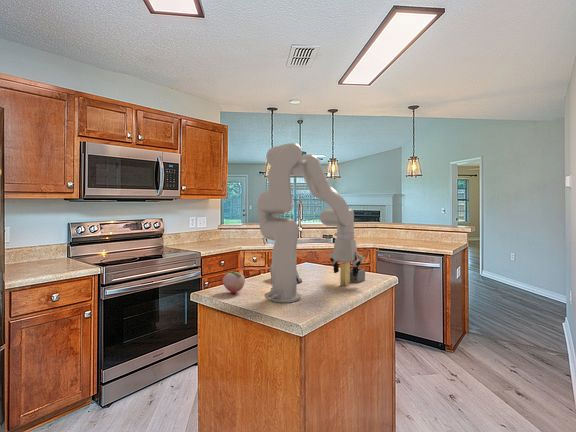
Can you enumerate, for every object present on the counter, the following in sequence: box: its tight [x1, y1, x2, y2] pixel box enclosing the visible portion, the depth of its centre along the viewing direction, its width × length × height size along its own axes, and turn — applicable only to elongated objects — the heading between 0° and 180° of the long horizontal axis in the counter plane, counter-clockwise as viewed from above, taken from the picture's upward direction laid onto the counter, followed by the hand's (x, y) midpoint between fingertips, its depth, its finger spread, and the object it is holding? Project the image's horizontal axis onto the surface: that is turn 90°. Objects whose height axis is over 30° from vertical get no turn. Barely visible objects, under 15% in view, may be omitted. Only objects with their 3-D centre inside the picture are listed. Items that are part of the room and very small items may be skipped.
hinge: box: [269, 264, 303, 283], centre depth 160 cm, size 17×5×10 cm, turn 45°
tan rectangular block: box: [339, 262, 351, 287], centre depth 152 cm, size 4×2×10 cm, turn 141°
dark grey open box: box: [350, 267, 366, 284], centre depth 160 cm, size 8×6×5 cm
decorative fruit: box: [222, 268, 246, 294], centre depth 140 cm, size 9×8×10 cm
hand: (345, 274), depth 153 cm, fingers open, 9 cm apart
